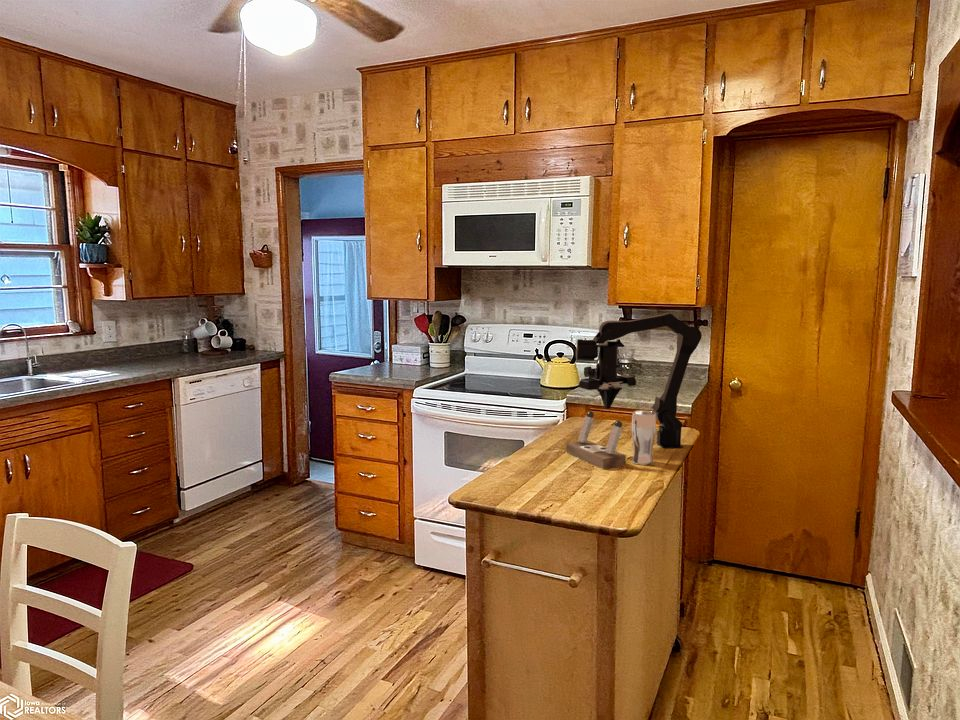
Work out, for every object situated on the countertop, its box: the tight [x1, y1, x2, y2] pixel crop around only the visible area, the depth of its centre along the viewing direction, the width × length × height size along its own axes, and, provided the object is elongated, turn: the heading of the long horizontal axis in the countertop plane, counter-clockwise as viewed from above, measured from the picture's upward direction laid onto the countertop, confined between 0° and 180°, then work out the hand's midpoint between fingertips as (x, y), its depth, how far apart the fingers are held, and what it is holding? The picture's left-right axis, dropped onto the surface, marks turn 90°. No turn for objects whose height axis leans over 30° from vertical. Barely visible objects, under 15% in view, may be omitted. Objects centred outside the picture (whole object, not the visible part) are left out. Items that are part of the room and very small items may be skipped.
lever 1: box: [577, 411, 595, 443], centre depth 202 cm, size 2×3×10 cm
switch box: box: [565, 439, 627, 470], centre depth 196 cm, size 8×19×4 cm, turn 26°
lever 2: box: [605, 420, 623, 454], centre depth 189 cm, size 2×3×10 cm
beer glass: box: [631, 409, 657, 466], centre depth 191 cm, size 7×7×15 cm
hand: (607, 408), depth 210 cm, fingers closed
